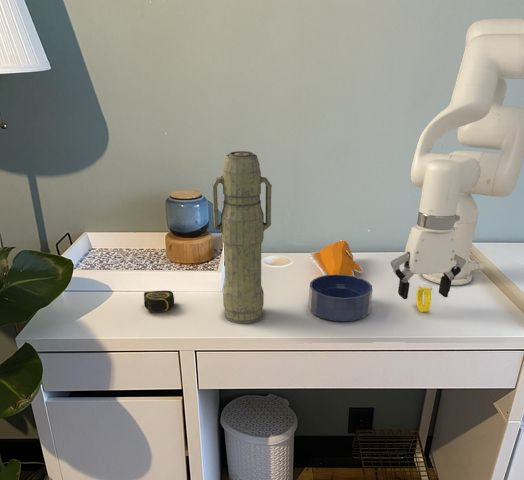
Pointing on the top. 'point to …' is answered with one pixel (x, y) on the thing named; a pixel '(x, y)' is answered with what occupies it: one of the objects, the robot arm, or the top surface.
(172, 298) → the tape measure
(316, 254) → the fish
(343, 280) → the navy bowl
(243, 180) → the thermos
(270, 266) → the top surface
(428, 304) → the watch
